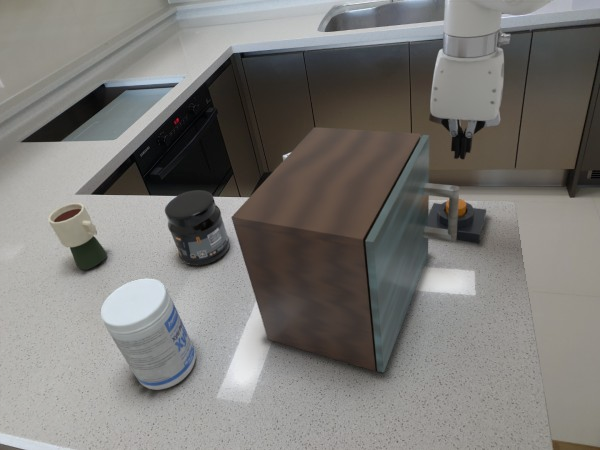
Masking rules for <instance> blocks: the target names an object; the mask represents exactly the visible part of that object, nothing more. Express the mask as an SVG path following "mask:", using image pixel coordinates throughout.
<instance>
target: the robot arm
mask: <svg viewBox="0 0 600 450" xmlns="http://www.w3.org/2000/svg"><path fill="white" fill-rule="evenodd" d="M553 1H554V0H444V12H443V33H442V34H443V35H442V48H441V49H439V51H438V52H437V57H436V60H435V66H434V69H433V77H432V84H431V92H430V104H429V105H430V106H429V111H430V113H429V116H428V120H429V122H431V123H435V124H438V125H442V126H443V127H444V128H445V130H447V131H448V132H449V136H450V137H451V146H450V147H451V148H450V151H451V152H454V156H453V159H454V160H458V159H460V160H465V158H466V157H467V153H468V154H469V153H471V151H472V145H473V136H474V135H475V134H476V133H477V134H478V132H479V131H481V130H482V129H483V128H491V127H497V126H499V125H500V123H501V113H500V109H501V106H502V101H503V100H502V99H503V92H504V91H503V90H504V78H505V55H504V49H503V48H501V46H504V45H509V44H510V42H511V33H505V32H503V30H501V23H502V15H503V14H504V15H510V16H525V15H529V14H532V13H535V12H536V11H538V10H540V9H541V8H543V7H545V6H547V5H548V4H550V3H551V2H553ZM461 121H468V122H467V125H466V127H465V128H464V130H463V128H462V125H461Z"/></svg>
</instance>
